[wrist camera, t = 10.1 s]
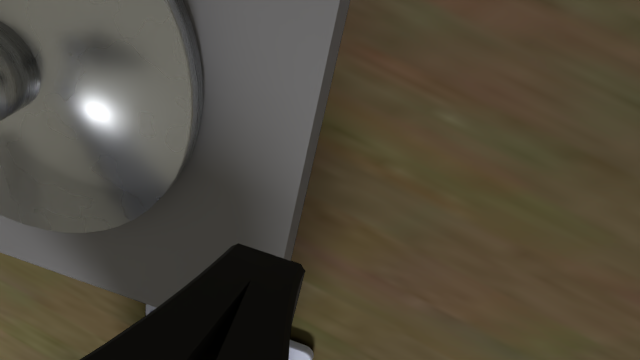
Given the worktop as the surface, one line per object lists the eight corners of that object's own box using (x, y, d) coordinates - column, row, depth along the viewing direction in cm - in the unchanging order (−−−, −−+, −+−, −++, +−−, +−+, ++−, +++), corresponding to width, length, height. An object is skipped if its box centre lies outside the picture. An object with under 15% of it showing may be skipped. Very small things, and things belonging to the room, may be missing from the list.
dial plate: (278, 314, 24) (263, 347, 23) (-117, 178, 27) (-155, 199, 25) (406, -248, 13) (395, -259, 12) (-292, -408, 15) (-380, -436, 14)
